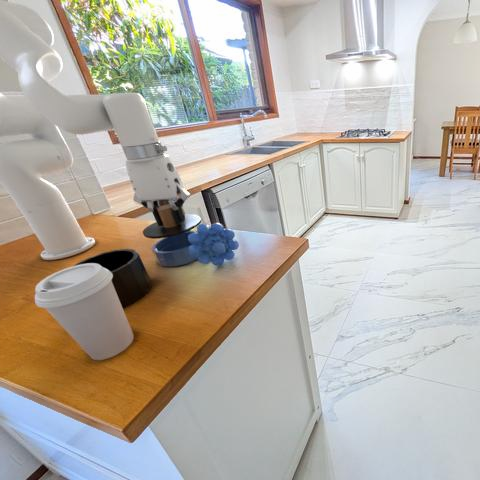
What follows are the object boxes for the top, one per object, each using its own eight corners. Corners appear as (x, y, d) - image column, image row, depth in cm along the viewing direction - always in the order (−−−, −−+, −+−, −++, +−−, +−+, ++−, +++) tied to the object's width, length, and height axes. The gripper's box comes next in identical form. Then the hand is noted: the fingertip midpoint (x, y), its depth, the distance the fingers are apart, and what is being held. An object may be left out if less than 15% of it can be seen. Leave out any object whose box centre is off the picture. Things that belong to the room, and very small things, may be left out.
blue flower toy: (204, 281, 68) (187, 236, 63) (193, 271, 72) (177, 228, 67) (249, 261, 75) (237, 218, 70) (237, 252, 80) (225, 212, 74)
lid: (132, 237, 73) (121, 215, 70) (176, 216, 84) (168, 196, 81) (171, 243, 69) (161, 219, 66) (213, 220, 80) (206, 199, 77)
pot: (71, 308, 62) (50, 275, 58) (128, 275, 73) (112, 246, 69) (110, 319, 58) (90, 285, 54) (164, 283, 69) (150, 252, 65)
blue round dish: (147, 264, 77) (140, 249, 75) (185, 242, 88) (180, 229, 86) (182, 270, 73) (176, 255, 71) (218, 247, 84) (213, 233, 81)
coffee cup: (70, 353, 51) (19, 284, 44) (130, 319, 58) (94, 255, 51) (90, 377, 46) (36, 304, 39) (153, 337, 53) (117, 269, 46)
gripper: (187, 146, 70) (209, 215, 79) (120, 151, 71) (149, 220, 79) (170, 152, 64) (197, 227, 72) (97, 158, 64) (131, 232, 73)
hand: (172, 222), depth 76 cm, fingers closed on lid, 4 cm apart
